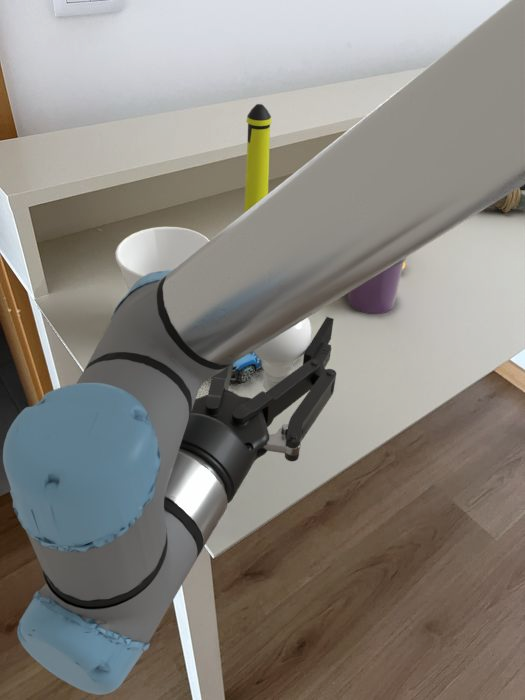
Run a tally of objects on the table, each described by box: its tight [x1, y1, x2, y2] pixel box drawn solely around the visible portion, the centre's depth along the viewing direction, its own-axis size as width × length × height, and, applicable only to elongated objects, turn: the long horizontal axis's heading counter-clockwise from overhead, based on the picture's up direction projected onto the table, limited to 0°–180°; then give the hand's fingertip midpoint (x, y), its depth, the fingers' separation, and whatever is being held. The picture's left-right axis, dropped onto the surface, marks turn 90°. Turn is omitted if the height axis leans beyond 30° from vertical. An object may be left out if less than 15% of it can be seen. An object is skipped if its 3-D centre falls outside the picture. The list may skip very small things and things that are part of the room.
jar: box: [347, 256, 408, 315], centre depth 83 cm, size 7×7×9 cm
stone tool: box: [488, 188, 525, 213], centre depth 108 cm, size 6×4×30 cm
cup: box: [114, 226, 210, 292], centre depth 74 cm, size 12×12×12 cm
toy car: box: [230, 351, 264, 383], centre depth 73 cm, size 6×12×6 cm, turn 129°
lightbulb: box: [253, 317, 313, 392], centre depth 59 cm, size 6×6×11 cm
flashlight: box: [243, 103, 272, 214], centre depth 82 cm, size 25×9×9 cm
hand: (297, 318), depth 62 cm, fingers closed on lightbulb, 6 cm apart
